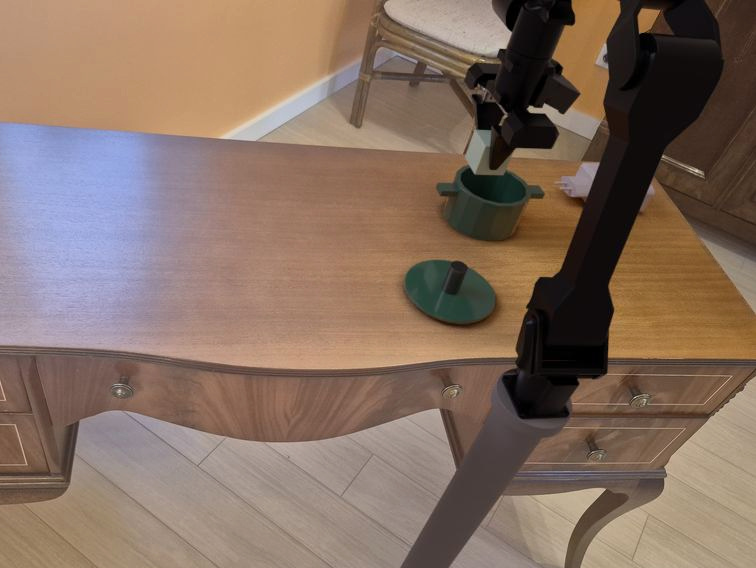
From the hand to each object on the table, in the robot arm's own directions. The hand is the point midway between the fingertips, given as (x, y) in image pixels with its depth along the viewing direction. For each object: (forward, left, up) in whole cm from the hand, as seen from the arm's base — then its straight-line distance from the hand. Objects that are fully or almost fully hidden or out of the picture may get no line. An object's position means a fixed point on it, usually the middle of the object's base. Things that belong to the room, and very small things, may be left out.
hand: (486, 160), depth 89 cm
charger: (+8, -26, -12) cm, 30 cm away
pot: (+2, -3, -11) cm, 12 cm away
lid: (-16, +8, -11) cm, 21 cm away
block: (0, 0, -1) cm, 1 cm away
